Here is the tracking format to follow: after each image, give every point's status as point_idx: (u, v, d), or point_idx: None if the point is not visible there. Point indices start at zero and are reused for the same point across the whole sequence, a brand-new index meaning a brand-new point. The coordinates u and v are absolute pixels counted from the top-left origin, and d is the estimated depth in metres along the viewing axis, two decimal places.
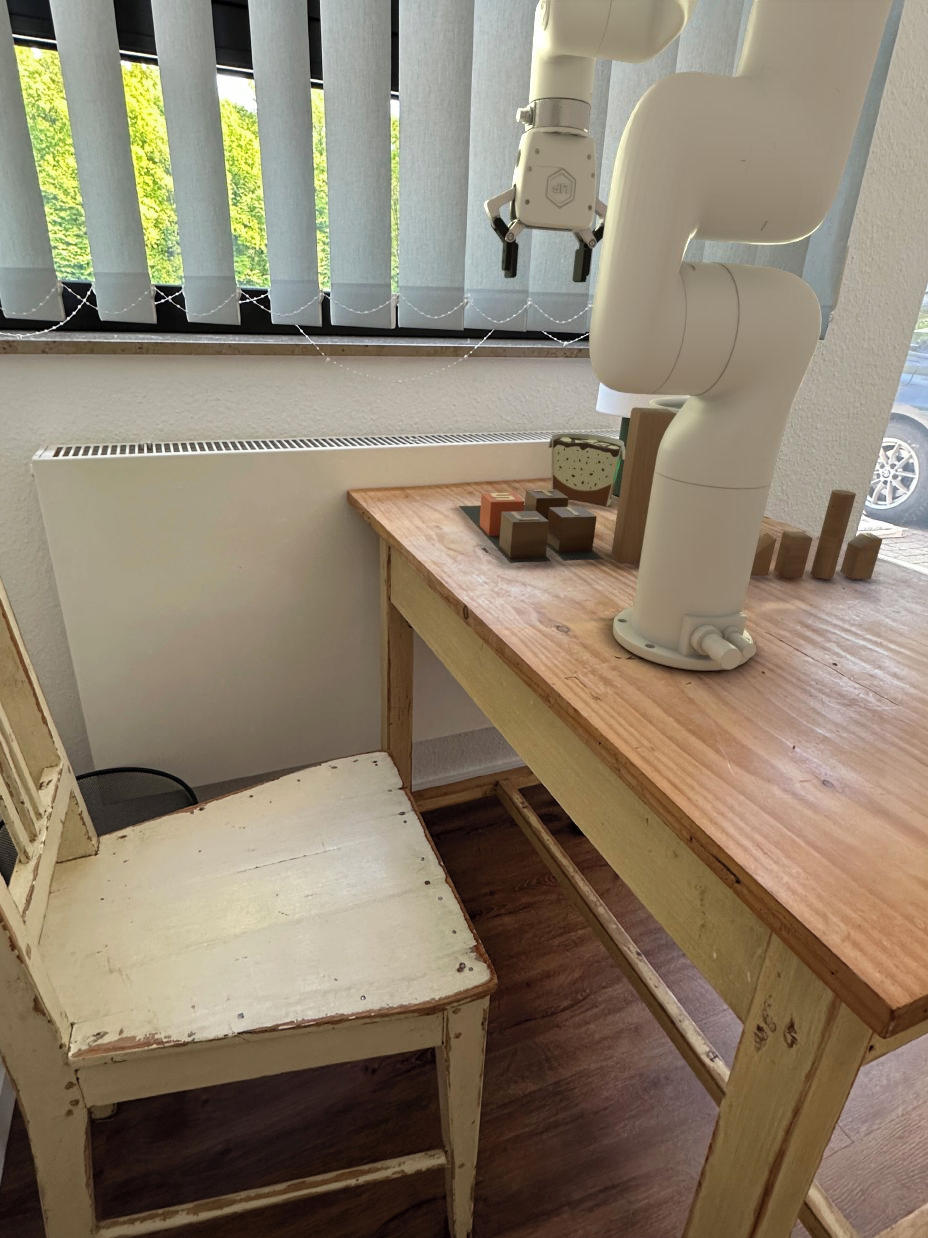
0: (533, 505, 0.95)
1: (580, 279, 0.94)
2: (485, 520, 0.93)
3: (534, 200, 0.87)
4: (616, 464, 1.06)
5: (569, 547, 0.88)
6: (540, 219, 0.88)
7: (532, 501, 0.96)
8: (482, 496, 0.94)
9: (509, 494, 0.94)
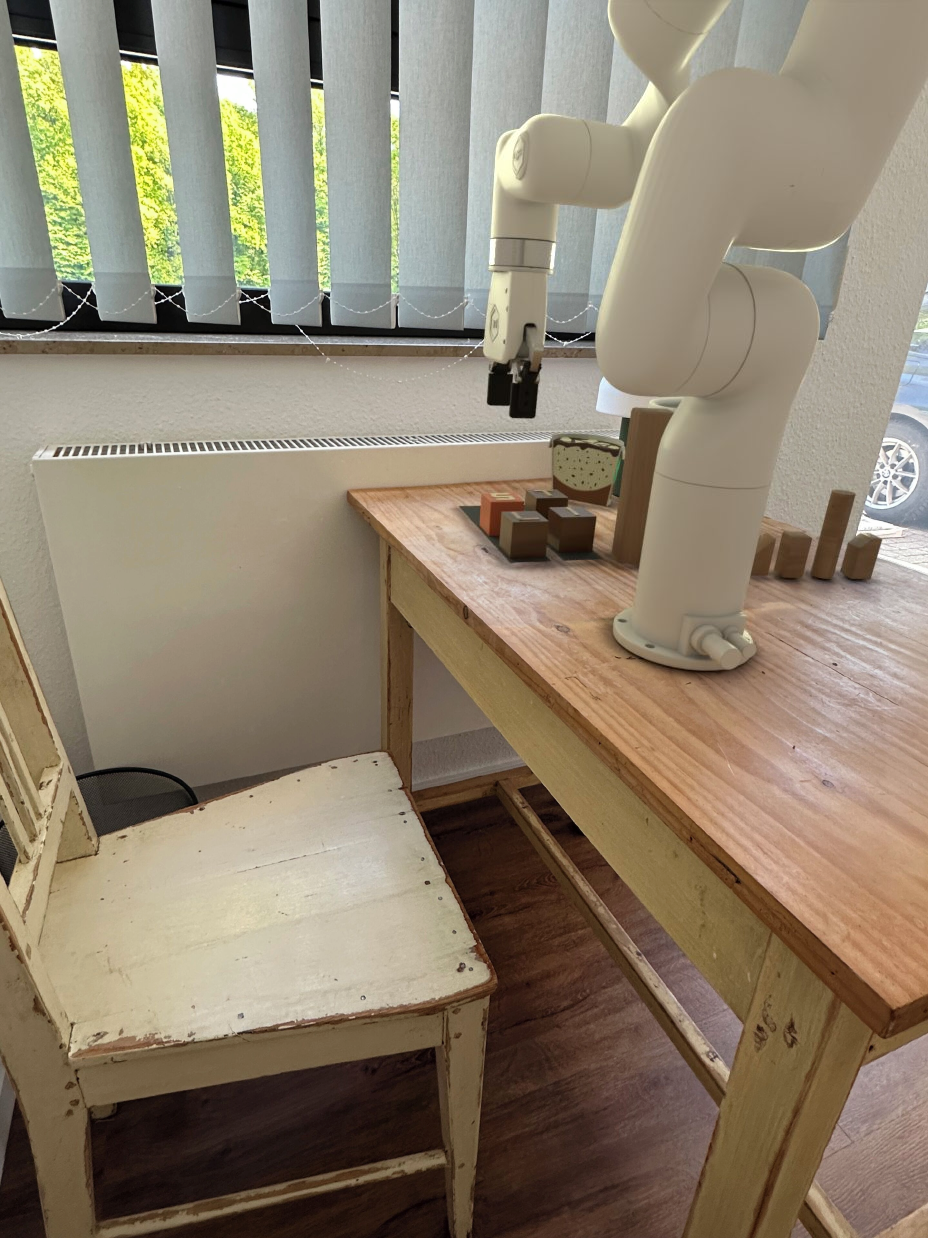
0: (533, 505, 0.95)
1: None
2: (485, 520, 0.93)
3: (486, 335, 0.89)
4: (616, 464, 1.06)
5: (569, 547, 0.88)
6: (487, 353, 0.89)
7: (532, 501, 0.96)
8: (482, 496, 0.94)
9: (509, 494, 0.94)
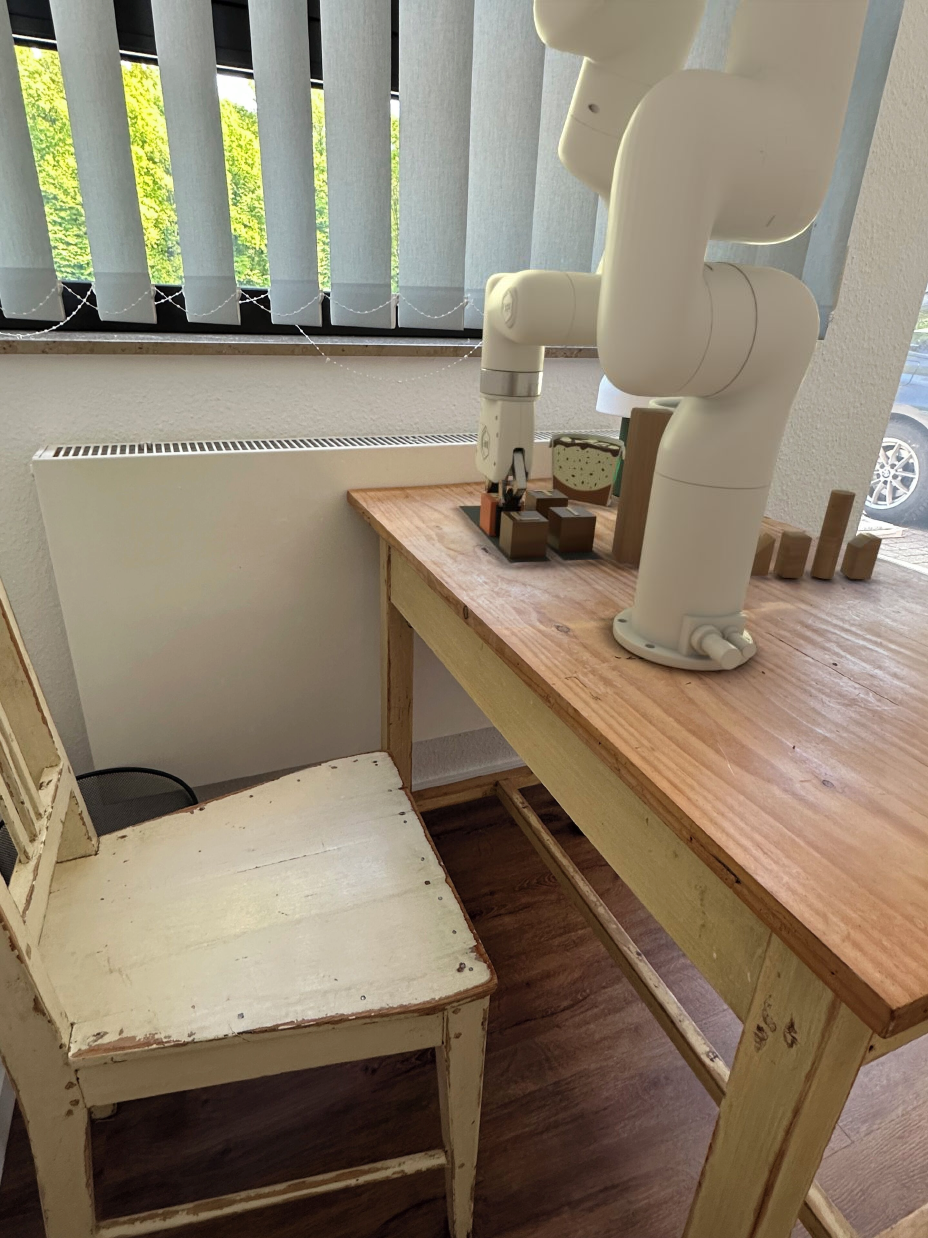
0: (533, 505, 0.95)
1: None
2: (485, 520, 0.93)
3: (478, 450, 0.93)
4: (616, 464, 1.06)
5: (569, 547, 0.88)
6: (478, 467, 0.93)
7: (532, 501, 0.96)
8: (482, 496, 0.94)
9: None
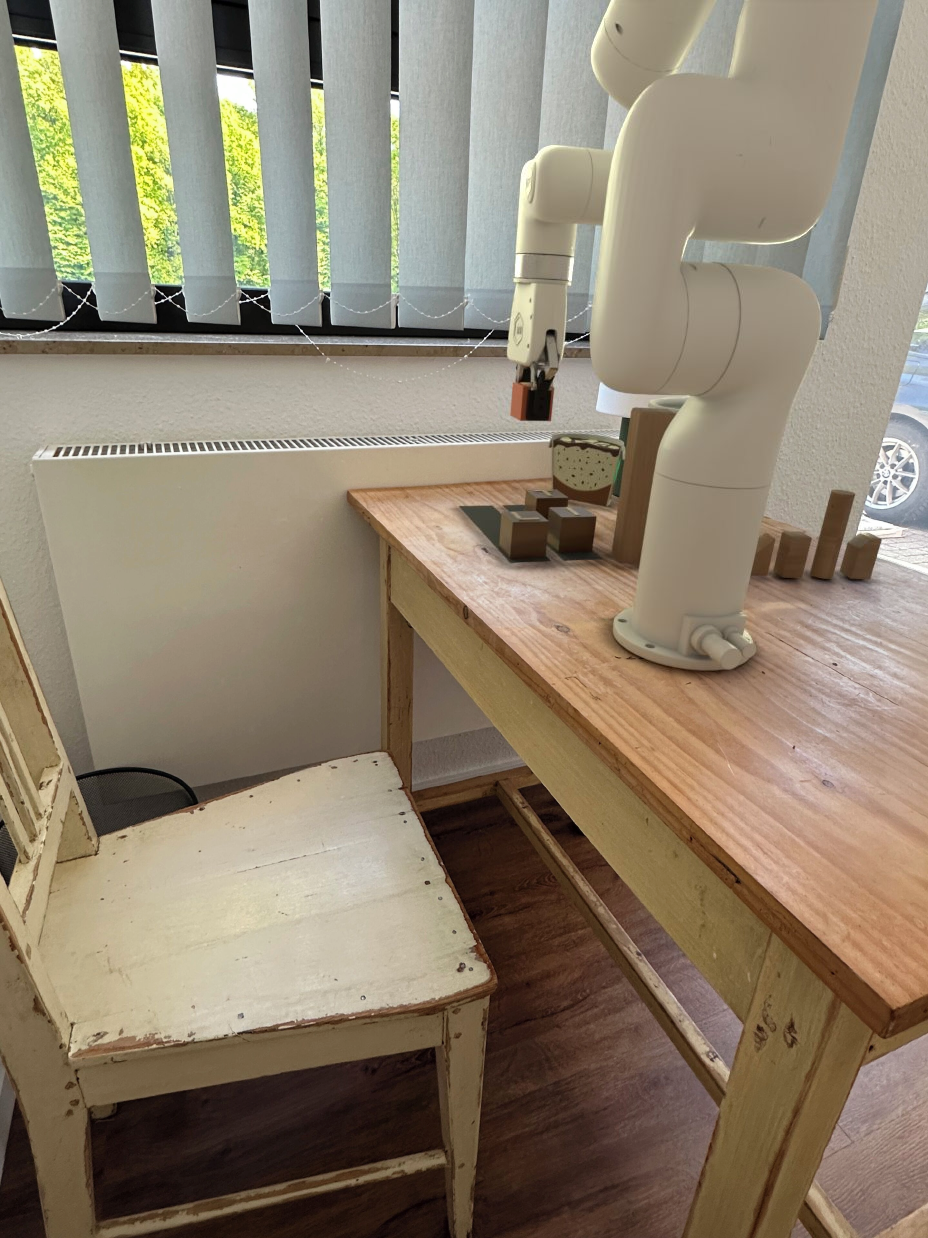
0: (533, 505, 0.95)
1: None
2: (517, 406, 0.99)
3: (510, 340, 0.98)
4: (616, 464, 1.06)
5: (569, 547, 0.88)
6: (510, 356, 0.98)
7: (532, 501, 0.96)
8: (513, 385, 0.99)
9: None
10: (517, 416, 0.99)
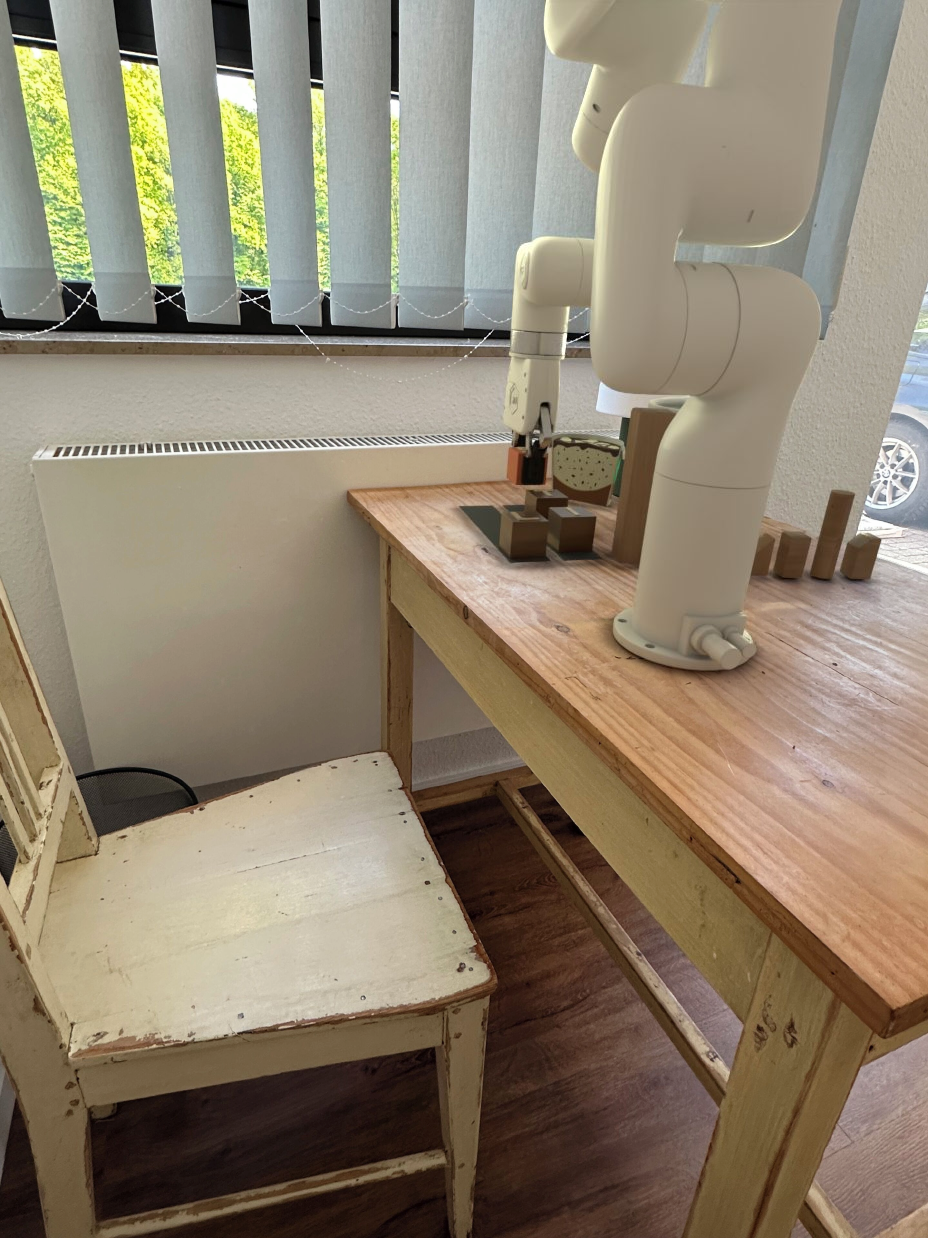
0: (533, 505, 0.95)
1: None
2: (512, 471, 1.02)
3: (506, 407, 1.02)
4: (616, 464, 1.06)
5: (569, 547, 0.88)
6: (506, 422, 1.02)
7: (532, 501, 0.96)
8: (509, 449, 1.03)
9: None
10: (513, 480, 1.02)
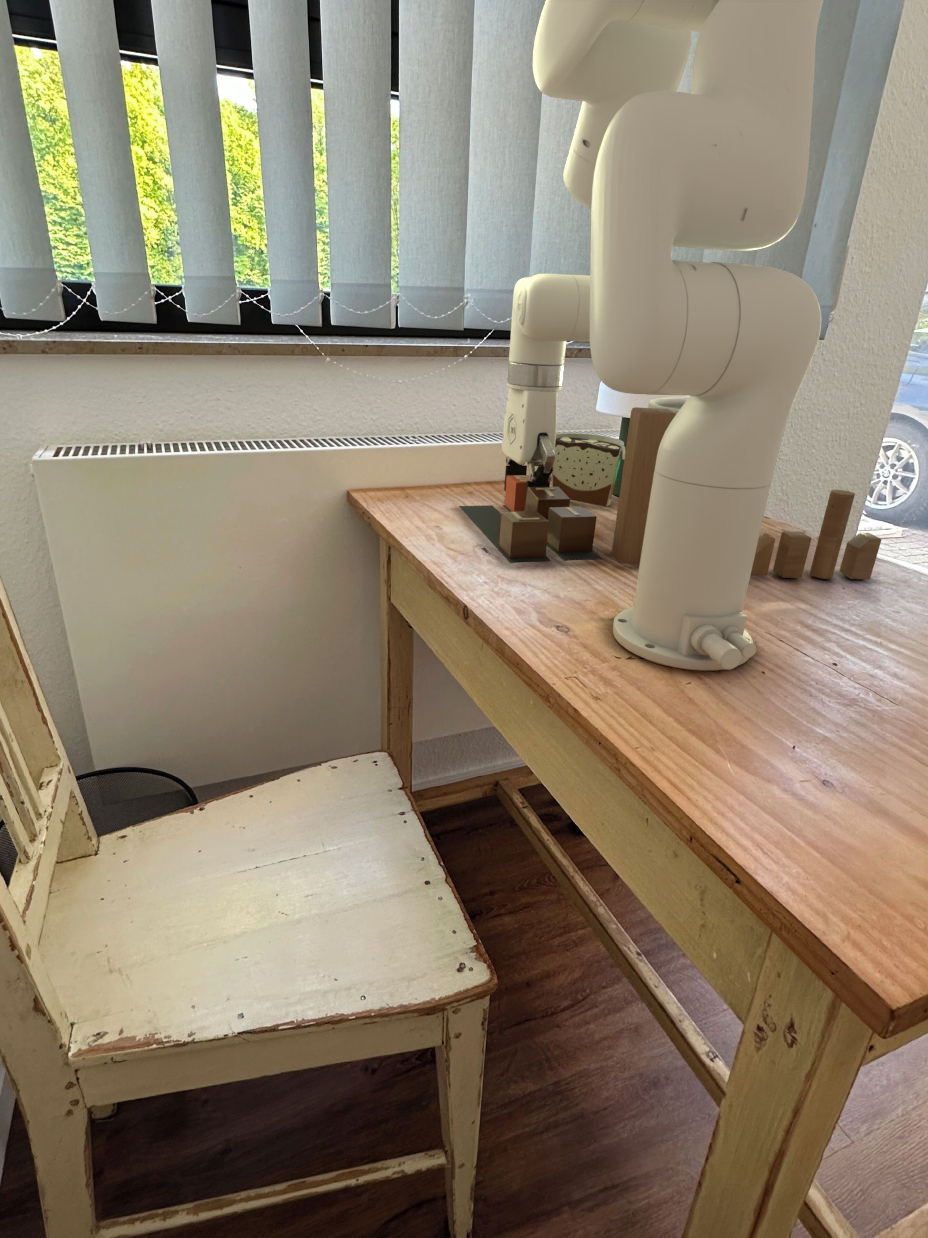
0: (534, 505, 0.95)
1: None
2: (510, 499, 1.04)
3: (504, 436, 1.04)
4: (616, 464, 1.06)
5: (569, 547, 0.88)
6: (505, 451, 1.04)
7: (533, 501, 0.95)
8: (507, 478, 1.05)
9: None
10: (511, 508, 1.04)
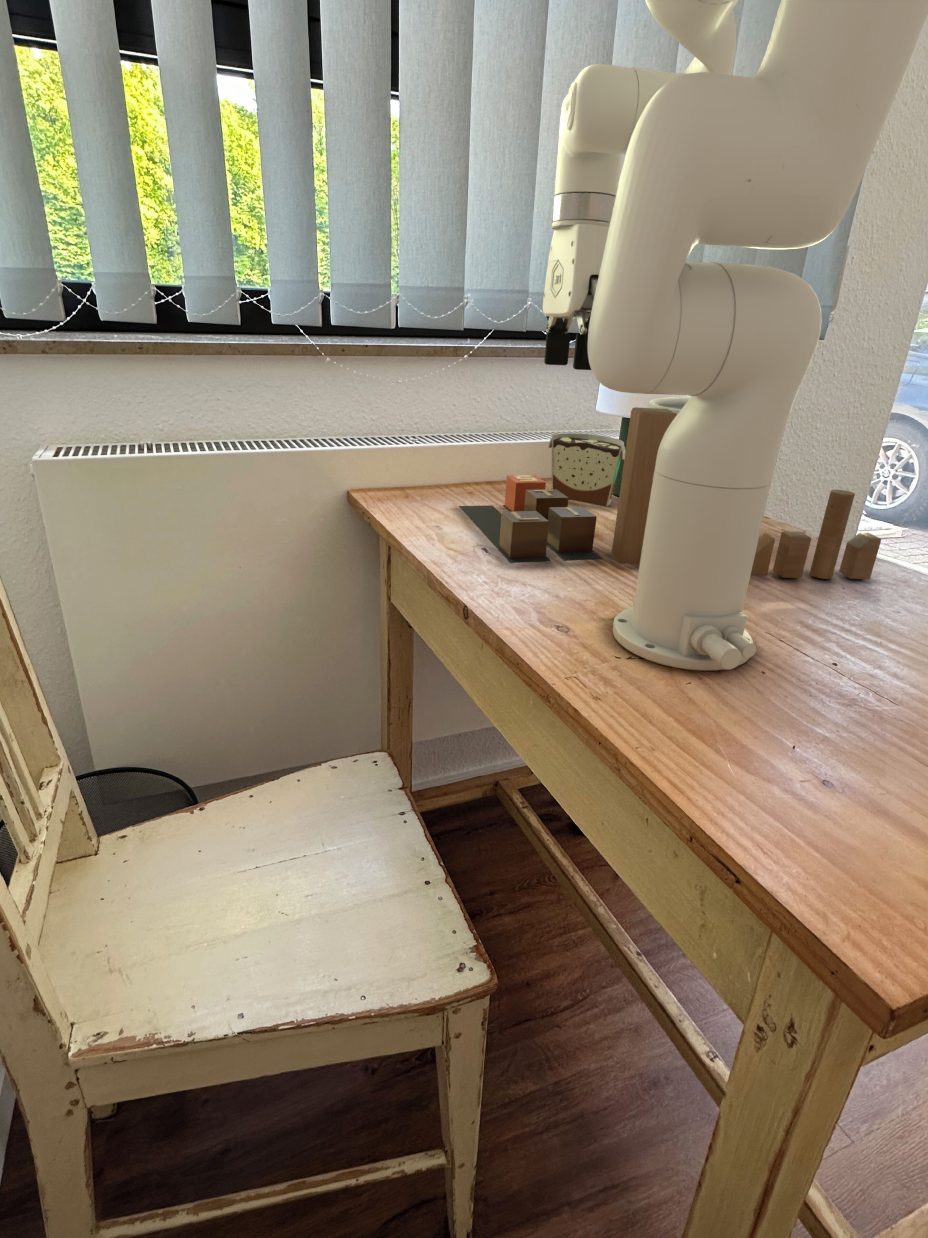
0: (533, 505, 0.95)
1: None
2: (510, 499, 1.04)
3: (546, 293, 0.91)
4: (616, 464, 1.06)
5: (569, 547, 0.88)
6: (547, 310, 0.91)
7: (532, 501, 0.96)
8: (507, 478, 1.05)
9: (531, 476, 1.05)
10: (511, 508, 1.04)
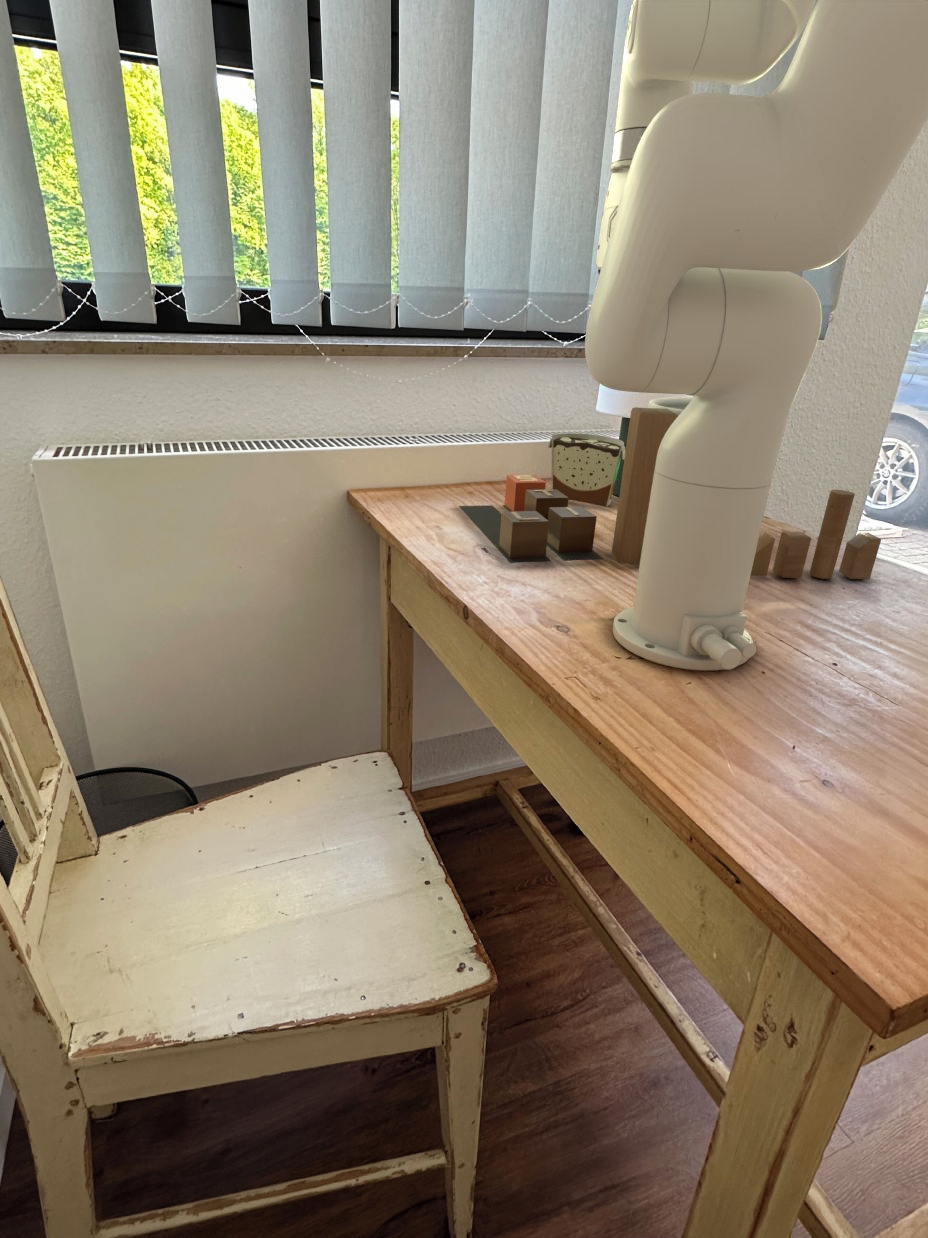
0: (533, 505, 0.95)
1: None
2: (510, 499, 1.04)
3: (601, 244, 0.83)
4: (616, 464, 1.06)
5: (569, 547, 0.88)
6: (602, 263, 0.83)
7: (532, 501, 0.96)
8: (507, 478, 1.05)
9: (531, 476, 1.05)
10: (511, 508, 1.04)
